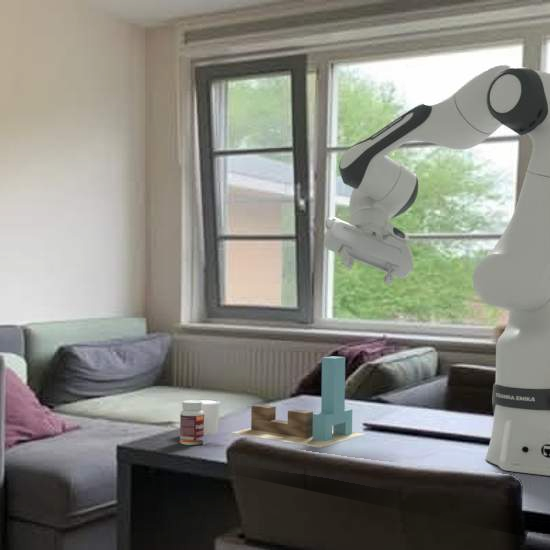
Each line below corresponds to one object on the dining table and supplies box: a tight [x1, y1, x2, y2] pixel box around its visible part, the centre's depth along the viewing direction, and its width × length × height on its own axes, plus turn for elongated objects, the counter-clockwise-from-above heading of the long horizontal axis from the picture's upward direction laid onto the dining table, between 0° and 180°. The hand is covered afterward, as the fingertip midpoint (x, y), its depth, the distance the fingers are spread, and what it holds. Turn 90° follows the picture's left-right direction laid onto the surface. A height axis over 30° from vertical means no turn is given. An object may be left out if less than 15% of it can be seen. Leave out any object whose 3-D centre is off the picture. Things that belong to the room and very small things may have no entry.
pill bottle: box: [179, 399, 205, 446], centre depth 158 cm, size 5×5×8 cm
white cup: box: [197, 399, 221, 437], centre depth 167 cm, size 7×7×7 cm
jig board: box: [231, 403, 367, 449], centre depth 162 cm, size 22×17×6 cm
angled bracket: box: [313, 355, 353, 441], centre depth 159 cm, size 3×10×16 cm, turn 143°
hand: (368, 273), depth 164 cm, fingers open, 8 cm apart
